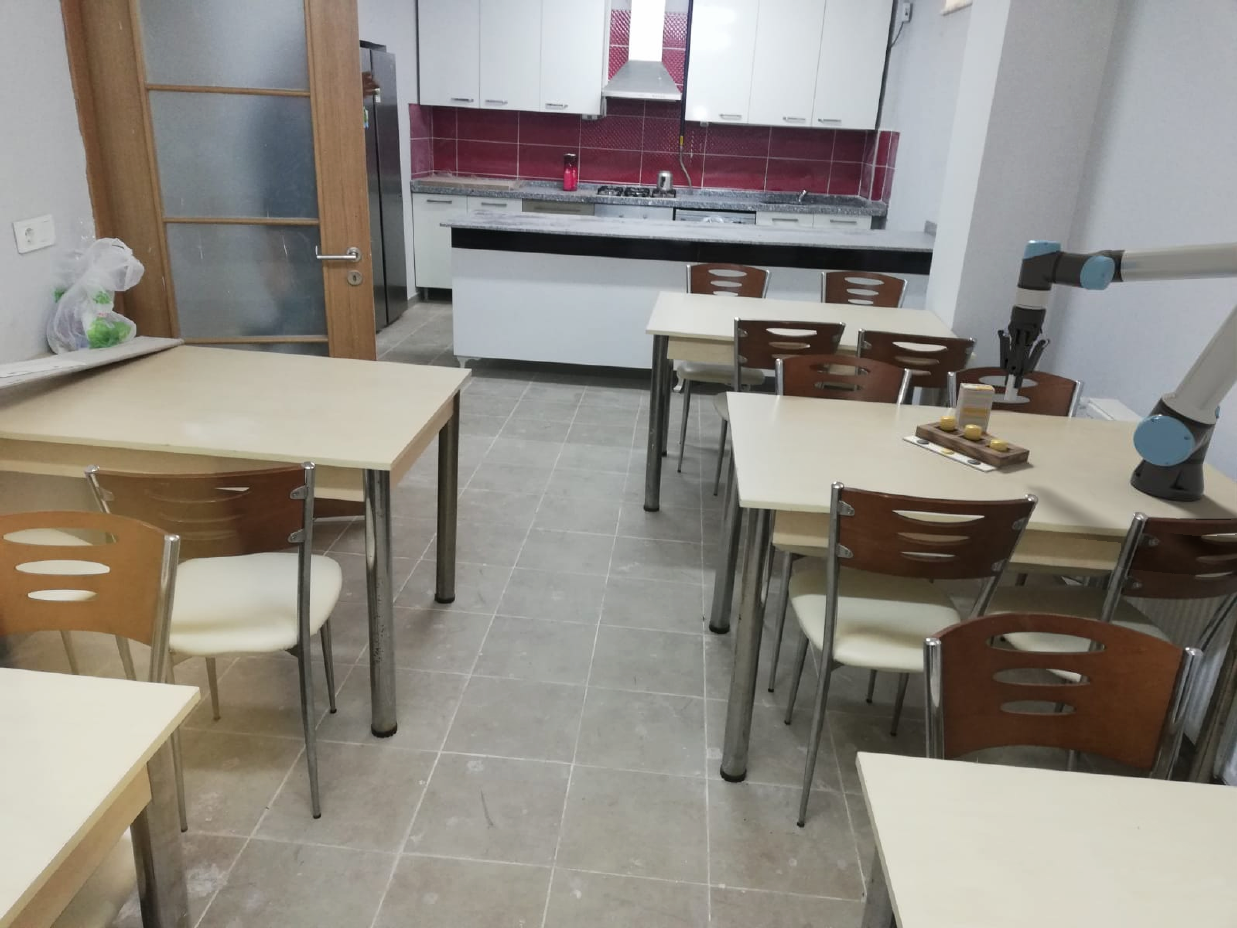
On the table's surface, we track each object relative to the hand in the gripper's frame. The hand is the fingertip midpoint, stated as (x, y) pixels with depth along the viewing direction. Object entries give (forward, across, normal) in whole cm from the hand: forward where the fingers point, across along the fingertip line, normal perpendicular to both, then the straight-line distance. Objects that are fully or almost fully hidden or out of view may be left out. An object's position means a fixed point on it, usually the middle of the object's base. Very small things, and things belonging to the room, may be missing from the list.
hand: (1009, 399), depth 219 cm
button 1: (+13, +16, 0) cm, 21 cm away
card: (+16, +8, +9) cm, 20 cm away
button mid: (+13, +8, 0) cm, 15 cm away
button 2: (+14, 0, 0) cm, 14 cm away
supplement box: (+16, +18, -13) cm, 28 cm away
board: (+16, +8, 0) cm, 18 cm away
